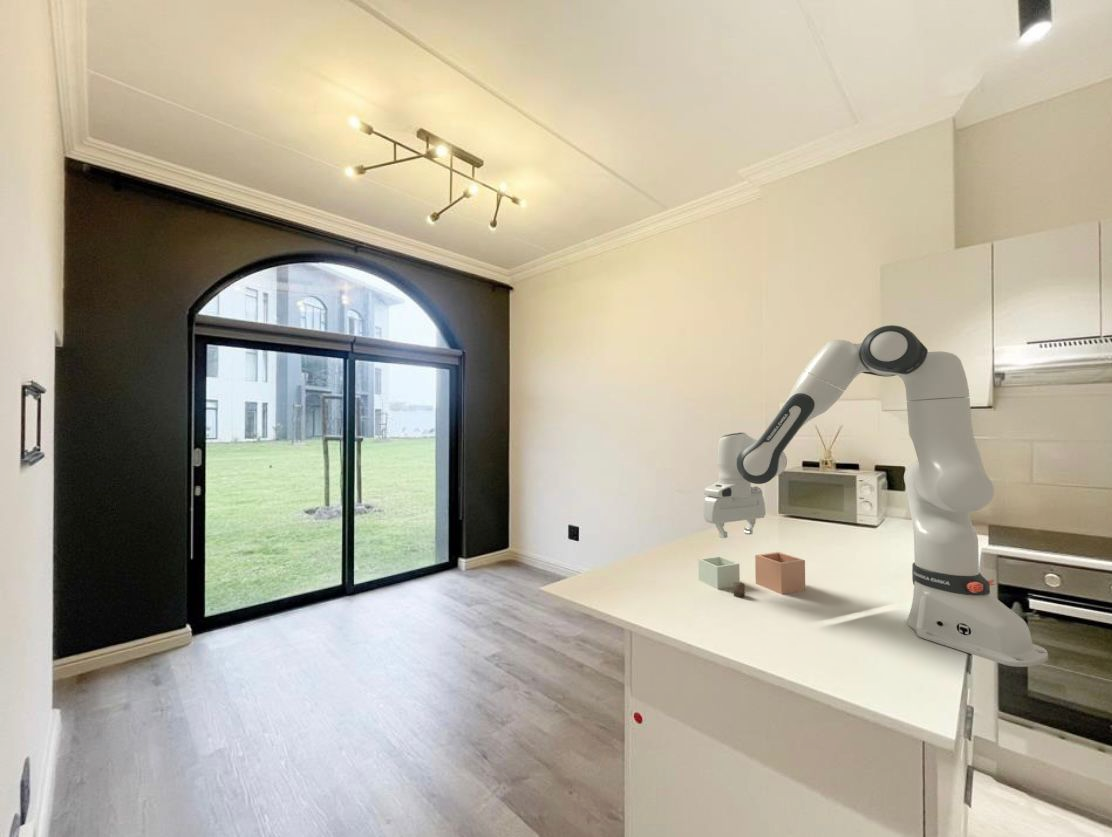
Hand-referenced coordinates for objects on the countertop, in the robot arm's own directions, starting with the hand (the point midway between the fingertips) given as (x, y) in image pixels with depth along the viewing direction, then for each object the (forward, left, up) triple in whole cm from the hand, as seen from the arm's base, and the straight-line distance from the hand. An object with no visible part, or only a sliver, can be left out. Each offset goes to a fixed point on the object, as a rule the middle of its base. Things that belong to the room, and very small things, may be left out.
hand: (736, 535), depth 128 cm
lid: (-7, +6, -15) cm, 18 cm away
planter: (-6, -10, -15) cm, 19 cm away
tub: (+3, +4, -15) cm, 16 cm away
